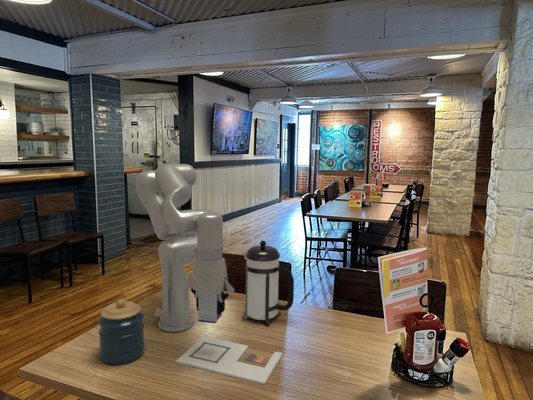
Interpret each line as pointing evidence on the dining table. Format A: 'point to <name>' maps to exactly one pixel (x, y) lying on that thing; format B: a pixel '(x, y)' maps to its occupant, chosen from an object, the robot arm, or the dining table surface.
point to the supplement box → (207, 306)
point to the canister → (121, 333)
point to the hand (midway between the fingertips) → (210, 310)
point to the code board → (228, 360)
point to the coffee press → (265, 283)
